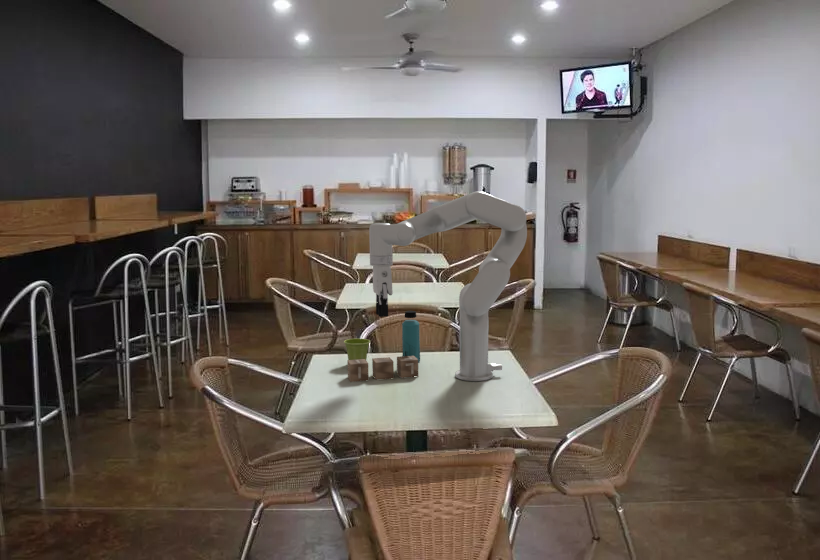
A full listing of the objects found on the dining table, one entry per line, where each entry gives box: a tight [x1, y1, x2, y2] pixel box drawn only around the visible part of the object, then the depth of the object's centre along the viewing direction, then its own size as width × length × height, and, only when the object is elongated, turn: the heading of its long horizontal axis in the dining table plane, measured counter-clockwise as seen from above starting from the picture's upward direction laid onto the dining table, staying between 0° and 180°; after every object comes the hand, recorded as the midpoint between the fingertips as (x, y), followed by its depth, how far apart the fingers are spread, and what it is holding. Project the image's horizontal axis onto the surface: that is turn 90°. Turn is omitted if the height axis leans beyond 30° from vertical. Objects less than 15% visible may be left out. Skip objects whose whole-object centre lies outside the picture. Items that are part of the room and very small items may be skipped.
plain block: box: [371, 356, 395, 381], centre depth 240 cm, size 6×6×6 cm
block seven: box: [396, 355, 419, 379], centre depth 242 cm, size 6×6×6 cm
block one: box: [347, 359, 370, 383], centre depth 238 cm, size 6×6×6 cm
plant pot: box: [343, 338, 371, 361], centre depth 257 cm, size 9×9×9 cm
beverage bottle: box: [401, 310, 421, 364], centre depth 253 cm, size 6×7×20 cm
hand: (382, 314), depth 238 cm, fingers open, 3 cm apart
